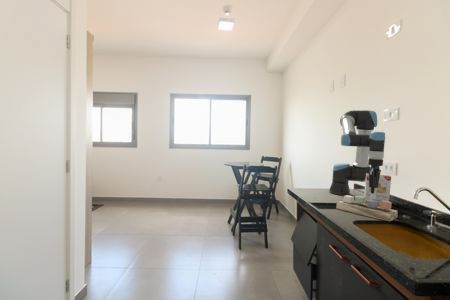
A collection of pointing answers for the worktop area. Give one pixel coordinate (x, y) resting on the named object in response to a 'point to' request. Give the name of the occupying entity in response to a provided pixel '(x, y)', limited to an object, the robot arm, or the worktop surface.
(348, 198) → the ivory key
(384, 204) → the pink small block
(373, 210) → the key console
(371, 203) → the slate key
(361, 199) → the sage key
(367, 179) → the cracker box
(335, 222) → the worktop surface
